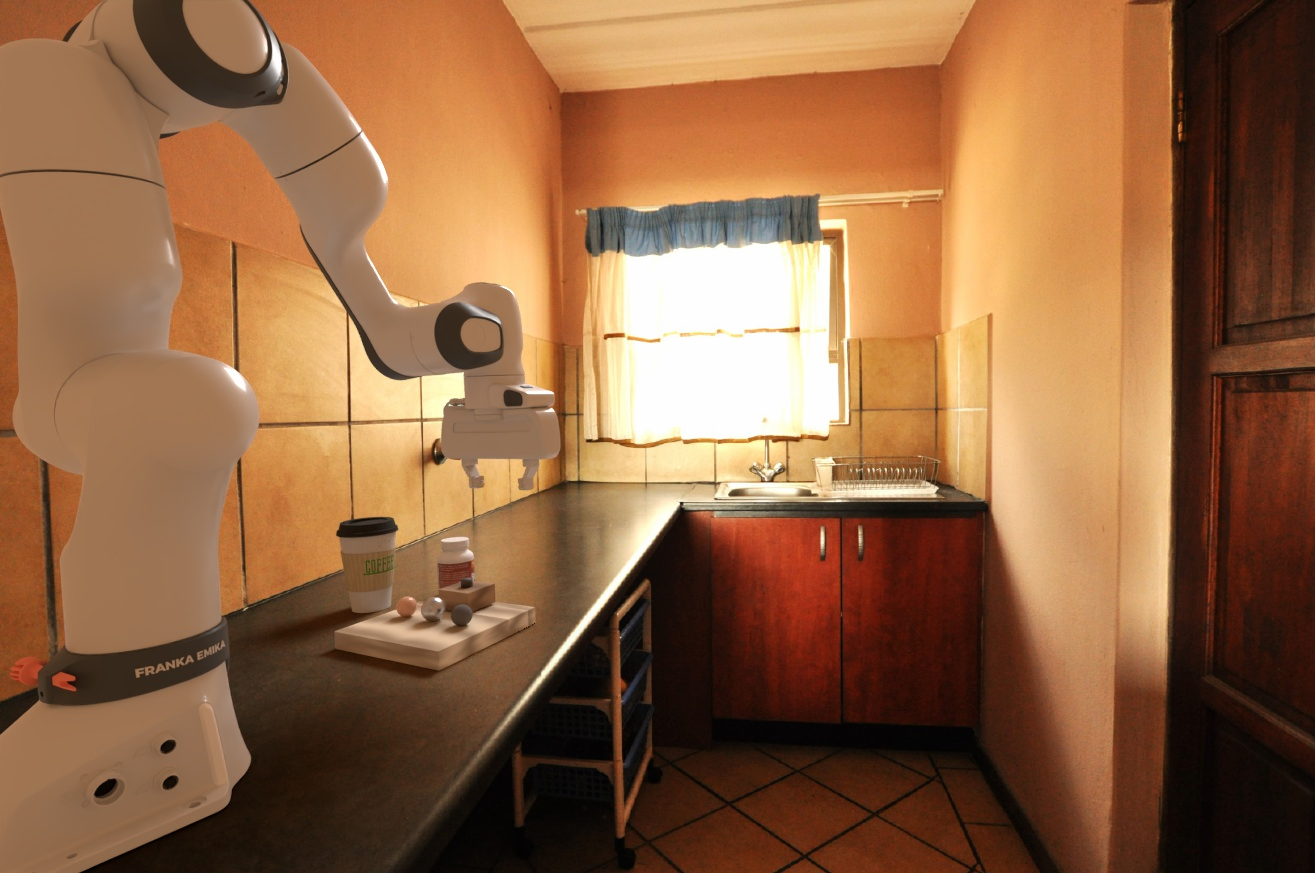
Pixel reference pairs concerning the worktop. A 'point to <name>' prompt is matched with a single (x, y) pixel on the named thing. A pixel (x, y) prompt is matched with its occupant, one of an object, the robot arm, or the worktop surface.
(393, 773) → the worktop surface
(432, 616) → the steel ball
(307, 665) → the worktop surface
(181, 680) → the robot arm
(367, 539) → the coffee cup
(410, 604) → the terracotta ball
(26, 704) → the worktop surface
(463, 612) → the black rubber ball
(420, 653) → the board
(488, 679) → the worktop surface
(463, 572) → the pill bottle
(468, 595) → the cover
